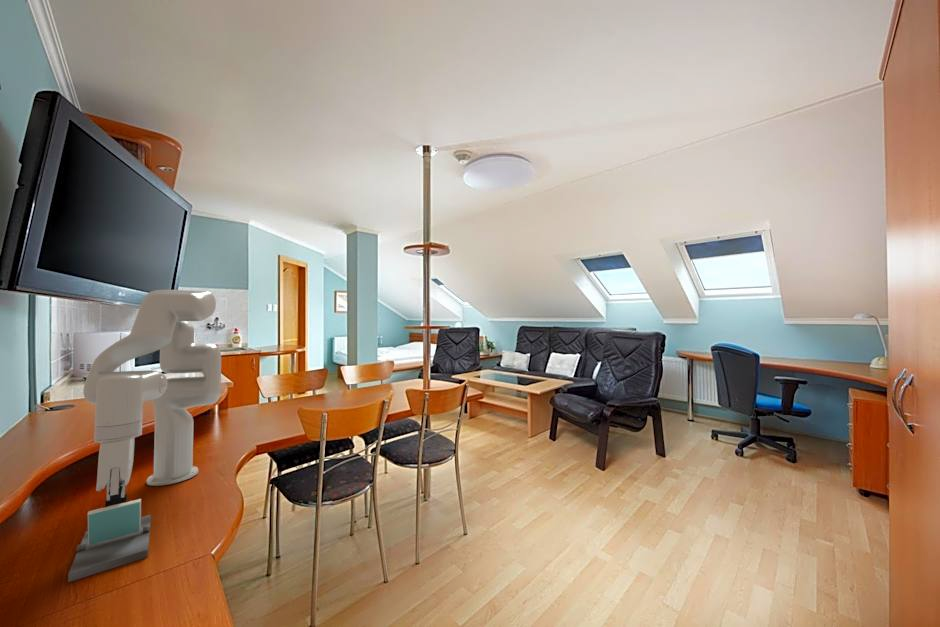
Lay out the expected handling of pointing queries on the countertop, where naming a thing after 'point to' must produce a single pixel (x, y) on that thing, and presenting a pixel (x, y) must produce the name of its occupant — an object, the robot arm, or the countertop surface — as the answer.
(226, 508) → the countertop surface
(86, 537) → the board
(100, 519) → the tile
